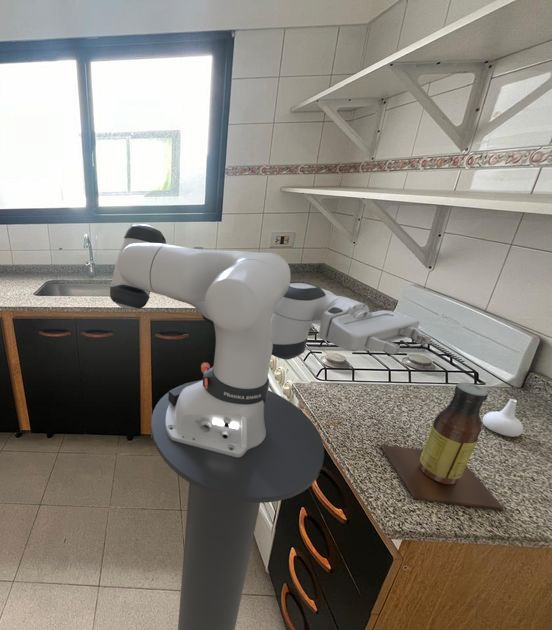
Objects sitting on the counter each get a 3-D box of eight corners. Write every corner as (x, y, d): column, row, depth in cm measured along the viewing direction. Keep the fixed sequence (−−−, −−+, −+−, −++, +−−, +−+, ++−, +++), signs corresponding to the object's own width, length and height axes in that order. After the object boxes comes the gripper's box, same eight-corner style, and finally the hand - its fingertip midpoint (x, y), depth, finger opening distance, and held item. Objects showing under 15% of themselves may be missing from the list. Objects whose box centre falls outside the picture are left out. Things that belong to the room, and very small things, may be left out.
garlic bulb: (490, 436, 77) (505, 407, 73) (474, 418, 82) (487, 390, 79) (526, 442, 75) (543, 413, 72) (507, 423, 80) (522, 395, 77)
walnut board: (413, 498, 63) (414, 496, 62) (380, 447, 74) (381, 445, 74) (502, 510, 60) (504, 508, 60) (454, 455, 72) (455, 453, 72)
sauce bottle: (451, 466, 68) (493, 383, 60) (463, 491, 63) (510, 404, 55) (411, 455, 71) (446, 374, 63) (419, 479, 66) (458, 394, 58)
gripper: (375, 324, 84) (440, 349, 72) (312, 339, 77) (373, 370, 65) (383, 299, 81) (451, 322, 69) (318, 313, 74) (382, 341, 62)
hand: (412, 346), depth 67 cm, fingers open, 8 cm apart
